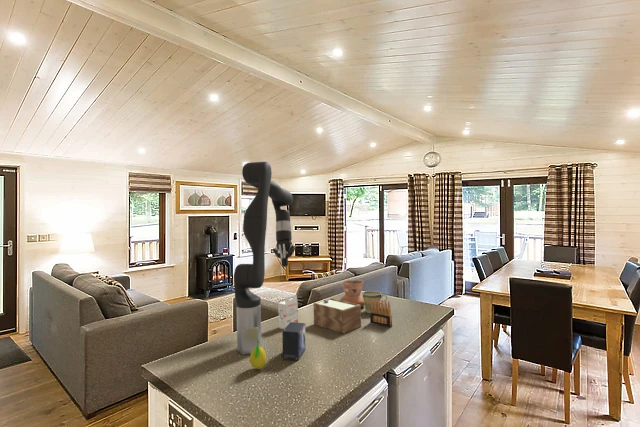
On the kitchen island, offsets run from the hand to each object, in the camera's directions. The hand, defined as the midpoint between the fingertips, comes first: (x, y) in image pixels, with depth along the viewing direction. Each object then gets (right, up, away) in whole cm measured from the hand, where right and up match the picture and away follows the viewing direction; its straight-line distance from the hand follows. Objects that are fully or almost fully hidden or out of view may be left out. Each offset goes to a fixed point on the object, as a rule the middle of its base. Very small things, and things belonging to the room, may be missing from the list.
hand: (284, 266), depth 159 cm
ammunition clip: (+45, -27, -3) cm, 53 cm away
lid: (+24, -19, -2) cm, 31 cm away
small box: (+7, -28, -35) cm, 45 cm away
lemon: (-4, -28, -46) cm, 54 cm away
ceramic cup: (+46, -27, +18) cm, 56 cm away
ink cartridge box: (+2, -28, -3) cm, 28 cm away
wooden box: (+24, -27, -2) cm, 37 cm away
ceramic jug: (+36, -28, +30) cm, 54 cm away
